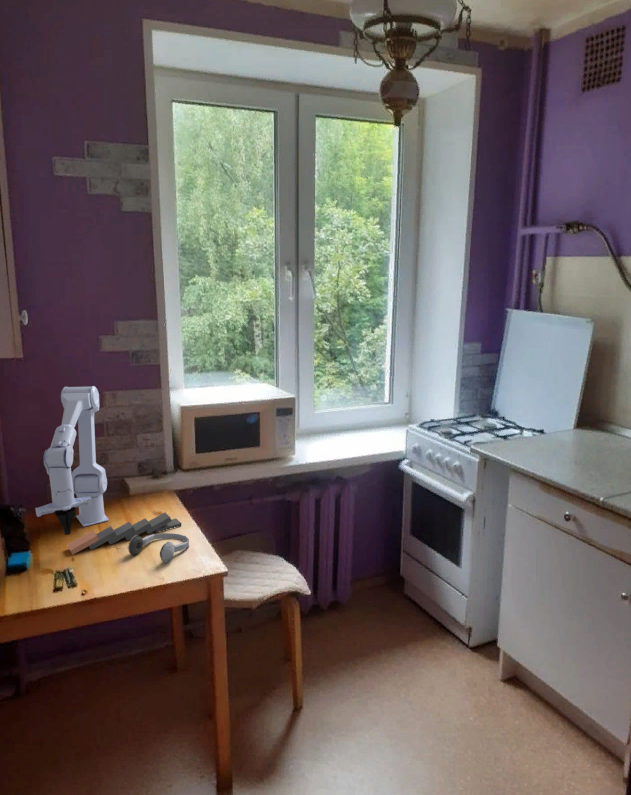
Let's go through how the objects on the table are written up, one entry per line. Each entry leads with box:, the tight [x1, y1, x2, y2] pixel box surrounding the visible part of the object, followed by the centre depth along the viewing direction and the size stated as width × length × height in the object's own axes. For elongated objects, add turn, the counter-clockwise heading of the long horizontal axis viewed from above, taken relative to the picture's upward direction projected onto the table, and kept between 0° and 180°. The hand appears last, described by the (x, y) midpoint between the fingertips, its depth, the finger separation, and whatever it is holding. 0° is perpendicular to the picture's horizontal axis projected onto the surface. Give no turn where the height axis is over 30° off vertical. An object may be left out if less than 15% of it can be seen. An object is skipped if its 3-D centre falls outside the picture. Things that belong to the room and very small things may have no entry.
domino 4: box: [124, 518, 151, 542], centre depth 184 cm, size 4×2×8 cm
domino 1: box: [66, 530, 99, 555], centre depth 176 cm, size 4×2×8 cm
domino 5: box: [145, 512, 172, 535], centre depth 188 cm, size 4×2×8 cm
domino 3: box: [107, 521, 135, 546], centre depth 182 cm, size 4×2×8 cm
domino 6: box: [154, 518, 182, 533], centre depth 190 cm, size 4×2×8 cm
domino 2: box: [88, 525, 117, 551], centre depth 179 cm, size 4×2×8 cm
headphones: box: [107, 532, 190, 564], centre depth 173 cm, size 17×6×20 cm
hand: (67, 533), depth 173 cm, fingers closed
